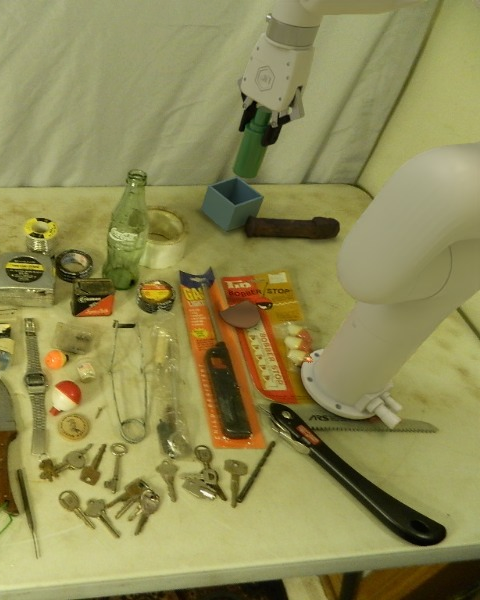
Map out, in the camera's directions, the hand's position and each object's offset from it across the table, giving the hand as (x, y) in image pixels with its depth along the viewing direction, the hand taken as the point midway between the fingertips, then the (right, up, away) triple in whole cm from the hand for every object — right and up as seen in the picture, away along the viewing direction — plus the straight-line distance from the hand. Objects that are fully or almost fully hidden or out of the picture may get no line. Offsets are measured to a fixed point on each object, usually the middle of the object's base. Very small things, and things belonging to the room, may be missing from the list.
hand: (256, 136), depth 96 cm
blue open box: (-1, -12, +14) cm, 19 cm away
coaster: (-5, -32, -5) cm, 33 cm away
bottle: (-1, -5, +5) cm, 7 cm away
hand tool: (+10, -16, +12) cm, 23 cm away
